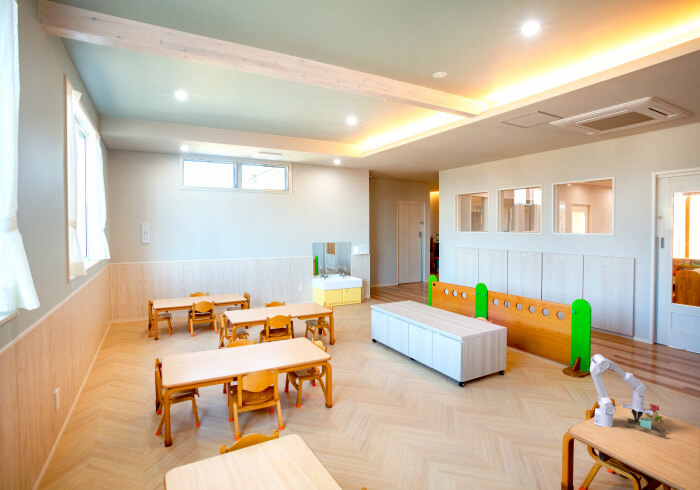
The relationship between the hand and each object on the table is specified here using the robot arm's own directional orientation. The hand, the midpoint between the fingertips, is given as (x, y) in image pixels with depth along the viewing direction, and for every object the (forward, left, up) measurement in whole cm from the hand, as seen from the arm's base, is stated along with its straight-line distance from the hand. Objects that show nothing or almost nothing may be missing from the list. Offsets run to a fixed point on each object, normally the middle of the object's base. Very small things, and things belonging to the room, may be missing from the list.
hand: (636, 422), depth 222 cm
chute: (+5, 0, -4) cm, 6 cm away
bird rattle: (+7, +18, -4) cm, 20 cm away
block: (+4, 0, -3) cm, 5 cm away
